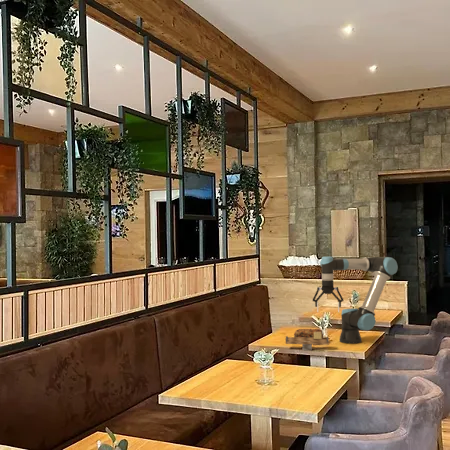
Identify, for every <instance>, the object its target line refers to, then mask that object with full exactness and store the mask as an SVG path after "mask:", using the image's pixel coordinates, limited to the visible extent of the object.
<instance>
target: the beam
mask: <svg viewBox="0 0 450 450" xmlns="http://www.w3.org/2000/svg"><path fill="white" fill-rule="evenodd" d="M329 341H330V340H329V336H326V337H323V338H322V339H314V338H304V337H294V336H291V337H290V336H288V335H287V336H285V344H286V345H302V351H309V352H312V350H313V349H312V348H313V346H312V344H320V345H328V346H329V343H330V342H329Z"/></svg>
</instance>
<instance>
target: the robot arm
mask: <svg viewBox="0 0 450 450" xmlns="http://www.w3.org/2000/svg"><path fill="white" fill-rule="evenodd" d="M319 264H320V267H321V287H320V286H317V289H316V292H315V293H314V296H313V298H312V302H314V305H315V306H314V307H315V308H316V312H317V313H319V302H318V301H319V300H320V299H321V298H322V296H323V295H324V294H325V295H331V294H332V295H333V296H334V298H335V300H337V301H338V302H337V312H338V313H340V308H342V302H345V300H344V298H343V296H342V295H341V292H340V290H339V287H338V286H336V287H334V286H335V285H334V271H345V270H360V271H361V270H362V271H363V272H369V273H371V272H372V273H373V274H374V277H373V279H372V281H371V284H370V286H369V289H368V290H367V293H366V296H365V298H364V301H363V303H362V305H361V306H359V307H358V308H354V307H353V308H344V309H342V310H341V332H340V335H339V342H340V343H344V344H360V343H362V337H361V333H360V330H361V331H371V330H372V329H373V328H374V327H375V325H376V317H375V316H376V313H375V310H376V307H377V305H378V302H379V301H380V298H381V296H382V292H383V290H384V288H385V285H386V283H387V281H388V280H390V279H391V277H392V276H393V275H394V274H395V275H396V273H397V272H398V268H399V267H398V263H397V260H396V259H394V258H393V257H390V256H373V257H372V256H370V257H362V258H342V257H341V258H339V257H338V258H337V257H333V256H322V257H321V260H320V262H319ZM320 291H322V292H321V293H320V294H319V292H320ZM334 291H336V293H337V294H338V296H339V297H338V296H337V294H336V293H335V292H334ZM318 294H319V295H318Z"/></svg>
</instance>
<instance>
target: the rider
mask: <svg viewBox="0 0 450 450" xmlns="http://www.w3.org/2000/svg"><path fill="white" fill-rule="evenodd" d="M314 339H322V336H321V332H314Z"/></svg>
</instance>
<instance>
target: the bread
mask: <svg viewBox="0 0 450 450" xmlns="http://www.w3.org/2000/svg"><path fill="white" fill-rule="evenodd" d="M314 332H321V336H322V338H324V332H323V330H322V329H320V328H298V329H296V330H295V331H294V333H293V337H304V338H314ZM317 345H319V346H320V345H321V344H313V346H317Z"/></svg>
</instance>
